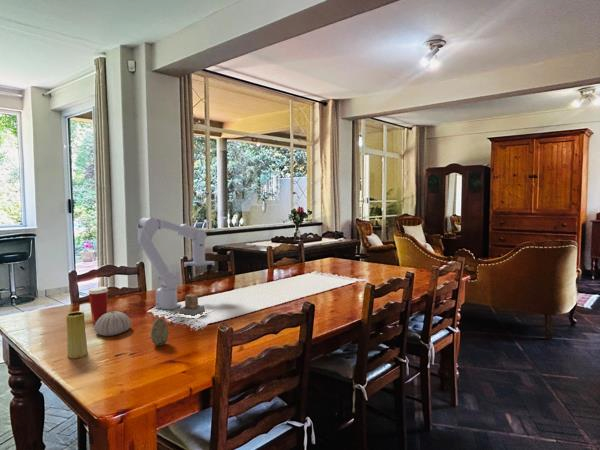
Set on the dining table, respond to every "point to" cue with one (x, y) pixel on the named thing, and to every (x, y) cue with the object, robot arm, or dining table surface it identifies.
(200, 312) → the grey square socket
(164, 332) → the decorative egg
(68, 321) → the vase
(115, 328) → the sea urchin shell
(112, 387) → the dining table surface
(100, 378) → the dining table surface
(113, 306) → the dining table surface
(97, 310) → the paper cup
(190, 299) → the square peg
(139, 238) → the robot arm
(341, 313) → the dining table surface
